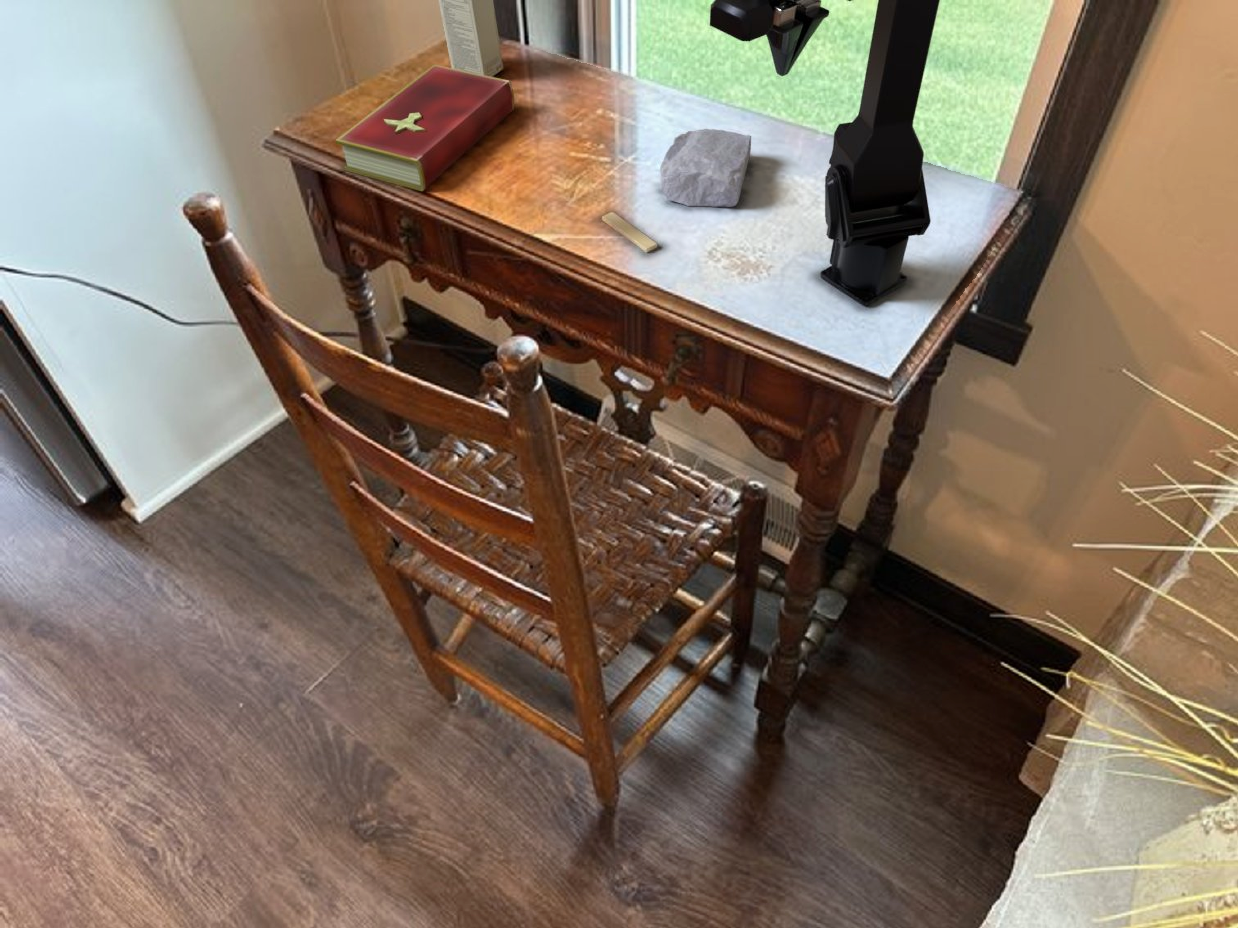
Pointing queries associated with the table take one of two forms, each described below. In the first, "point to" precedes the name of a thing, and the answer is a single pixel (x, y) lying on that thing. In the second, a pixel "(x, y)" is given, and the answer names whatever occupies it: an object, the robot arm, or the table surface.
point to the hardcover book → (426, 126)
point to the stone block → (706, 168)
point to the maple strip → (629, 232)
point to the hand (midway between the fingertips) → (781, 74)
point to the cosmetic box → (472, 35)
